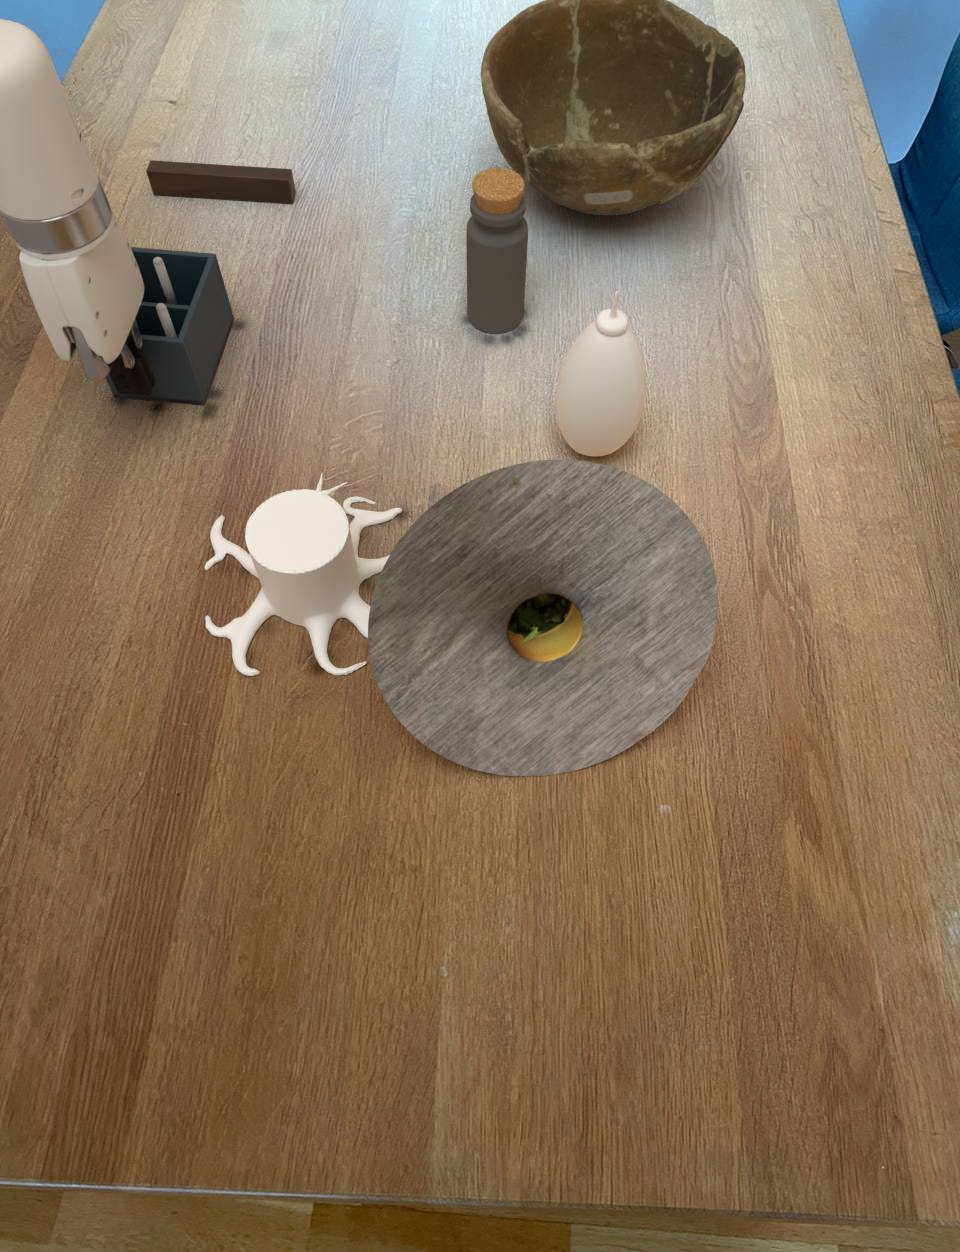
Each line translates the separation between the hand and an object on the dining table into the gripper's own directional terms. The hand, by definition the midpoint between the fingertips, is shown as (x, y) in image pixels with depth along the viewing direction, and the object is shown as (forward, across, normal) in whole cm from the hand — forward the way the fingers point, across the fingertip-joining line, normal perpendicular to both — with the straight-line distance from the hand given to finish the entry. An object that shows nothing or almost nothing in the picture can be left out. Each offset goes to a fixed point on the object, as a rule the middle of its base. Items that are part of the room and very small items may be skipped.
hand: (137, 388), depth 86 cm
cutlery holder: (+4, -8, 0) cm, 10 cm away
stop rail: (+4, -34, -1) cm, 34 cm away
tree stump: (+5, +16, +18) cm, 25 cm away
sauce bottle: (+5, -2, +42) cm, 42 cm away
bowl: (+5, -39, +41) cm, 57 cm away
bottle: (+5, -18, +31) cm, 36 cm away
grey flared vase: (+6, +22, +38) cm, 45 cm away
